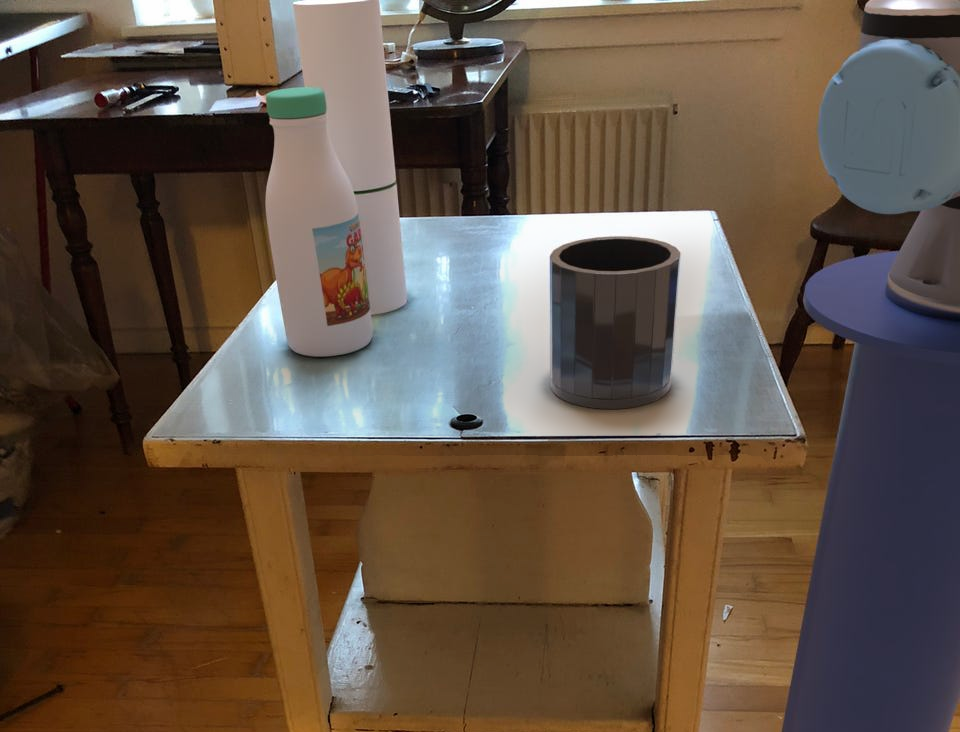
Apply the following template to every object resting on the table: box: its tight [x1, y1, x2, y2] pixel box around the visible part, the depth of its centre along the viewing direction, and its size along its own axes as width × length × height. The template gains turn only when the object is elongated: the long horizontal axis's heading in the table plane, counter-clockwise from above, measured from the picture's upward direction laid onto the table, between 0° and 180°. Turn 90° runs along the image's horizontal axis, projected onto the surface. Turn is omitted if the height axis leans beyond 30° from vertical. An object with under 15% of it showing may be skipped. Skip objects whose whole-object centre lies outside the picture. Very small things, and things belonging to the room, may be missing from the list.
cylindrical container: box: [292, 0, 408, 316], centre depth 88 cm, size 7×7×25 cm
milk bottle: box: [265, 86, 374, 358], centre depth 81 cm, size 8×8×20 cm
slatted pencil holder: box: [549, 235, 681, 410], centre depth 74 cm, size 9×9×10 cm
